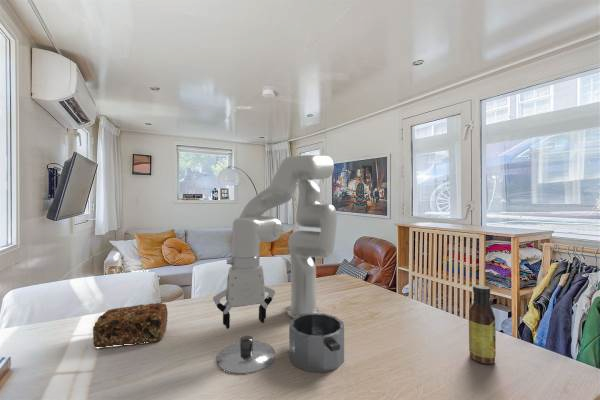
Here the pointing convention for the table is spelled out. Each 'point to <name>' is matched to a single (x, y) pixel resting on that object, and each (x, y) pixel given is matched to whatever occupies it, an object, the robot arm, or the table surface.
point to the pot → (316, 342)
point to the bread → (131, 325)
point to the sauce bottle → (482, 327)
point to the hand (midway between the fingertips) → (244, 323)
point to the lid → (246, 356)
